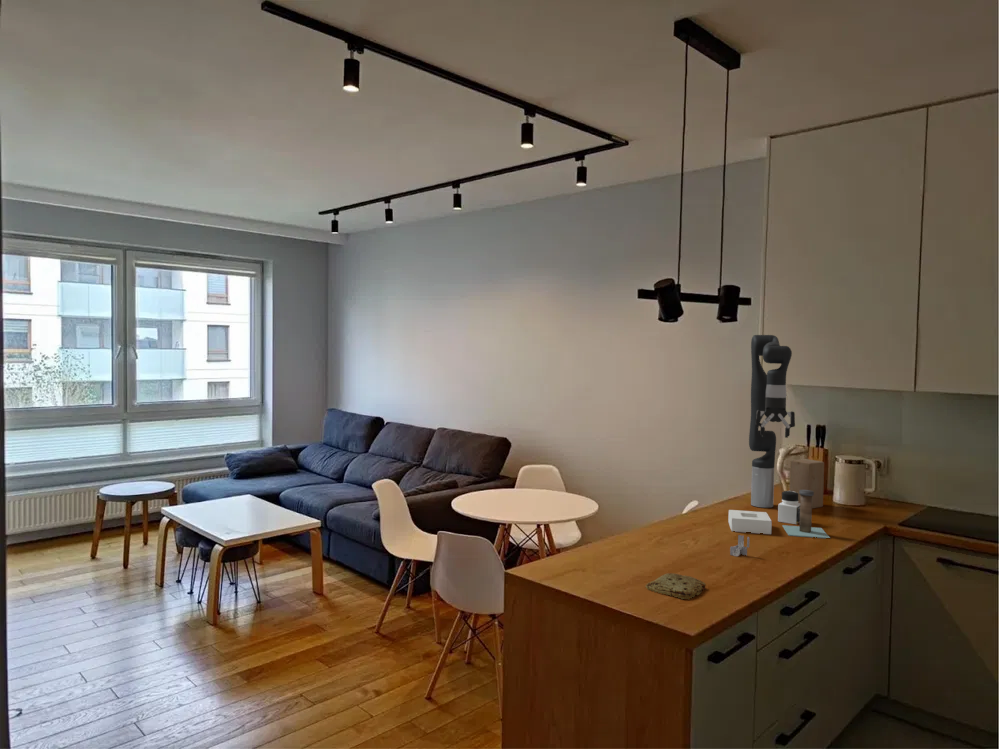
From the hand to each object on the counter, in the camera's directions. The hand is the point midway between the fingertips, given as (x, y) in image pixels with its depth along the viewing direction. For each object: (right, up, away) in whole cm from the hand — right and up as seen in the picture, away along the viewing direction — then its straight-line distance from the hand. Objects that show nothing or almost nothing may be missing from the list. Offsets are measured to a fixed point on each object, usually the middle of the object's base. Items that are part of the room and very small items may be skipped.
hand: (774, 437), depth 265 cm
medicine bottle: (+7, -34, +3) cm, 35 cm away
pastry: (-59, -37, -75) cm, 102 cm away
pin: (+6, -34, -13) cm, 37 cm away
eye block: (-13, -34, -8) cm, 38 cm away
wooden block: (+27, -34, +31) cm, 53 cm away
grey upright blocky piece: (-28, -36, -48) cm, 66 cm away
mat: (+6, -35, -13) cm, 38 cm away
